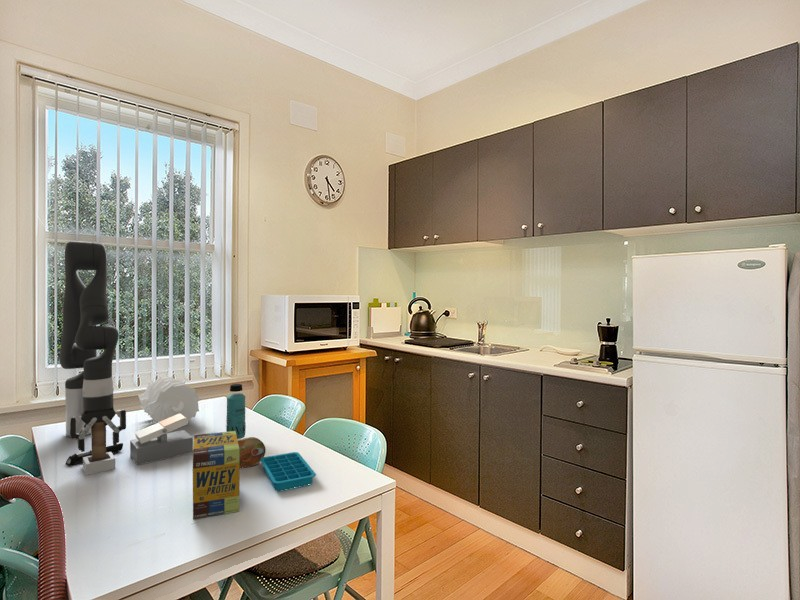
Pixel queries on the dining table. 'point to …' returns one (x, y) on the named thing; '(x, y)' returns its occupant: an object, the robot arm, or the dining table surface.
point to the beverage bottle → (236, 411)
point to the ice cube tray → (287, 470)
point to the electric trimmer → (79, 458)
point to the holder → (98, 464)
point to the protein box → (215, 474)
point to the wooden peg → (98, 441)
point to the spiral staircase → (169, 399)
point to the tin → (250, 451)
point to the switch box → (161, 447)
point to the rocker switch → (161, 428)
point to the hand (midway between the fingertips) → (98, 447)
